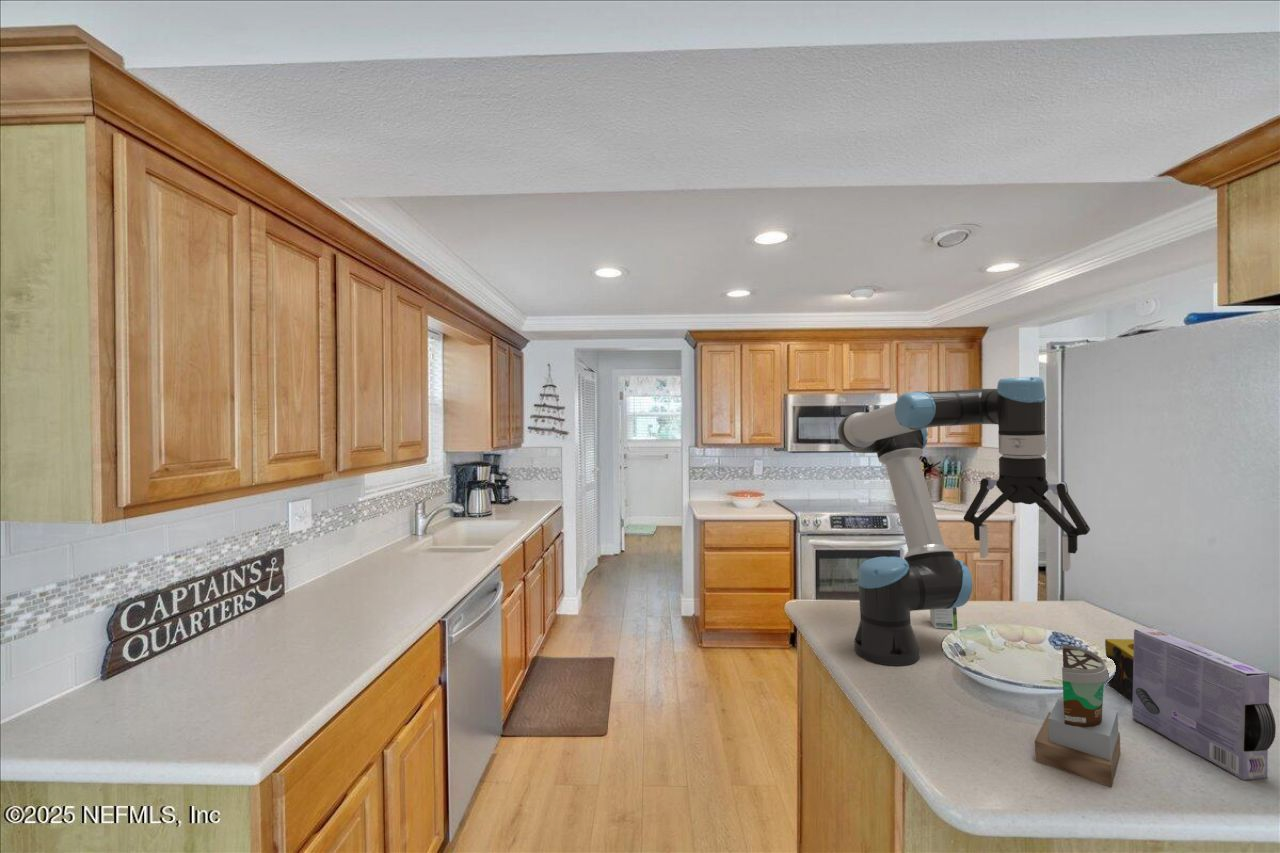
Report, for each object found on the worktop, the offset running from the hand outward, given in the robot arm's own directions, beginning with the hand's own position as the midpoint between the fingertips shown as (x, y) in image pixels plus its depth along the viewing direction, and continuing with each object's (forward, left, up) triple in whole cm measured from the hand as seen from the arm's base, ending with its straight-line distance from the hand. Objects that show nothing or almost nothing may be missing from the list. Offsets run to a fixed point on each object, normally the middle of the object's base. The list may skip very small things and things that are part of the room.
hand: (1023, 562), depth 107 cm
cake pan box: (+23, +6, -30) cm, 39 cm away
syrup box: (-27, +37, -30) cm, 55 cm away
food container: (+10, -11, -23) cm, 27 cm away
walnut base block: (+9, -10, -31) cm, 34 cm away
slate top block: (+10, -10, -27) cm, 30 cm away
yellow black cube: (+16, +23, -30) cm, 41 cm away
